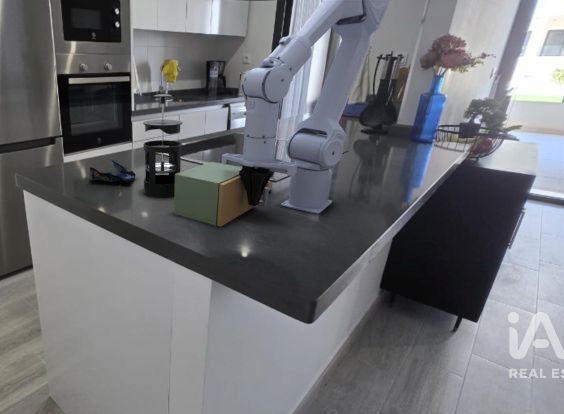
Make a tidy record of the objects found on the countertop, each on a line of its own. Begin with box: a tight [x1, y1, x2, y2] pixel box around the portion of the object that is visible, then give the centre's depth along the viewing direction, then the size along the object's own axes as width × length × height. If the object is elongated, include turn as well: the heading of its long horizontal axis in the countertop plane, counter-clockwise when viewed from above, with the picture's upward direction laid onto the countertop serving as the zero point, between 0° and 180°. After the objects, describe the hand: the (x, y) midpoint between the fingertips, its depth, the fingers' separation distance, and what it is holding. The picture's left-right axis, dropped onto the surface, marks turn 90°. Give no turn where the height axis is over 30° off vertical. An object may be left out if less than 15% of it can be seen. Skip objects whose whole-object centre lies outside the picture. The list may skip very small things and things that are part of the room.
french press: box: [142, 93, 183, 199], centre depth 89 cm, size 12×9×23 cm
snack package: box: [88, 159, 137, 187], centre depth 102 cm, size 12×6×12 cm
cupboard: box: [173, 161, 242, 227], centre depth 79 cm, size 10×14×9 cm
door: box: [216, 175, 270, 228], centre depth 75 cm, size 4×14×8 cm, turn 139°
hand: (253, 204), depth 76 cm, fingers closed
